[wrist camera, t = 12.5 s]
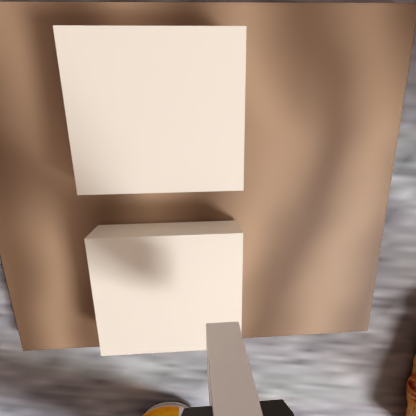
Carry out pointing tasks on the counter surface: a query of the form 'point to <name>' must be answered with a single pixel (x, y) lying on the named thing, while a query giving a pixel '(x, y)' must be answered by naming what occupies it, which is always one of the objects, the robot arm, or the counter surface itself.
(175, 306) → the tile
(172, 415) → the beer can
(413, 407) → the croissant
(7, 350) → the counter surface
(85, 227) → the board
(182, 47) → the tile
